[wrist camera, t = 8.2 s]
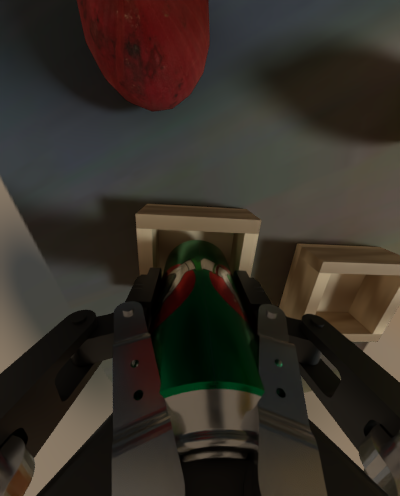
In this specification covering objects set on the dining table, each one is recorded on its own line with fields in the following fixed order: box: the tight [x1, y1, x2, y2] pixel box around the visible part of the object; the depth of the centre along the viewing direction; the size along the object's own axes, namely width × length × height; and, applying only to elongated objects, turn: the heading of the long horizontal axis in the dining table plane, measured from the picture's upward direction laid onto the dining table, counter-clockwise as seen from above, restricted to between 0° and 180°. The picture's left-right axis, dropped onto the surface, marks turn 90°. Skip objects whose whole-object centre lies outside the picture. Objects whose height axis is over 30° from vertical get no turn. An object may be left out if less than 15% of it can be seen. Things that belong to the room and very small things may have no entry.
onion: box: [77, 0, 209, 111], centre depth 9 cm, size 6×6×8 cm
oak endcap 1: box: [135, 204, 261, 277], centre depth 16 cm, size 8×8×4 cm
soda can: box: [148, 240, 265, 464], centre depth 10 cm, size 5×5×12 cm
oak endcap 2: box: [279, 243, 400, 342], centre depth 18 cm, size 8×8×4 cm
